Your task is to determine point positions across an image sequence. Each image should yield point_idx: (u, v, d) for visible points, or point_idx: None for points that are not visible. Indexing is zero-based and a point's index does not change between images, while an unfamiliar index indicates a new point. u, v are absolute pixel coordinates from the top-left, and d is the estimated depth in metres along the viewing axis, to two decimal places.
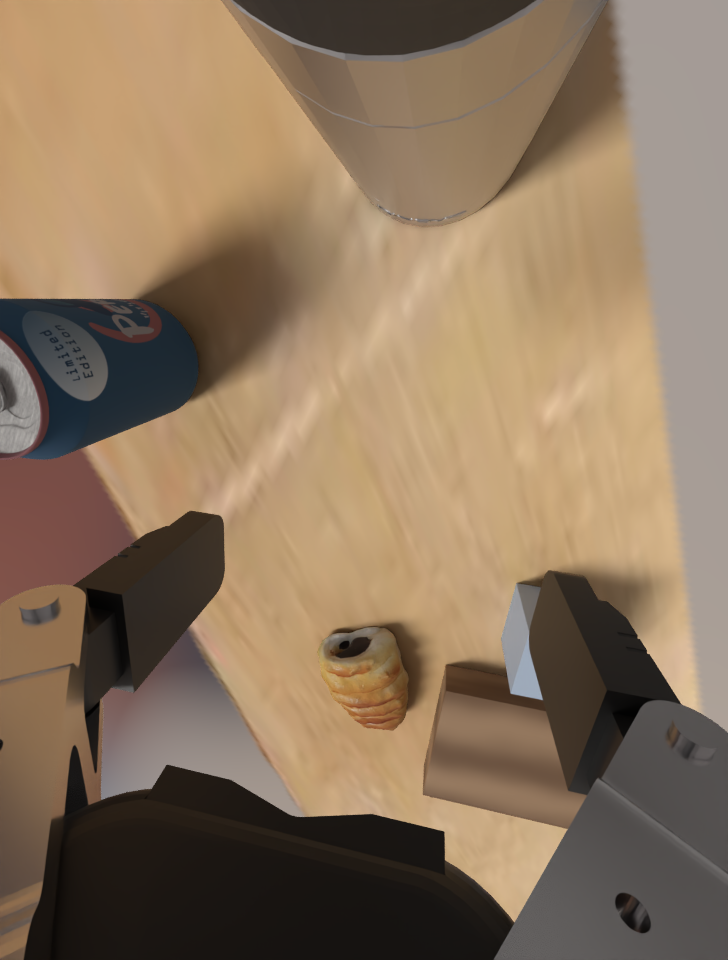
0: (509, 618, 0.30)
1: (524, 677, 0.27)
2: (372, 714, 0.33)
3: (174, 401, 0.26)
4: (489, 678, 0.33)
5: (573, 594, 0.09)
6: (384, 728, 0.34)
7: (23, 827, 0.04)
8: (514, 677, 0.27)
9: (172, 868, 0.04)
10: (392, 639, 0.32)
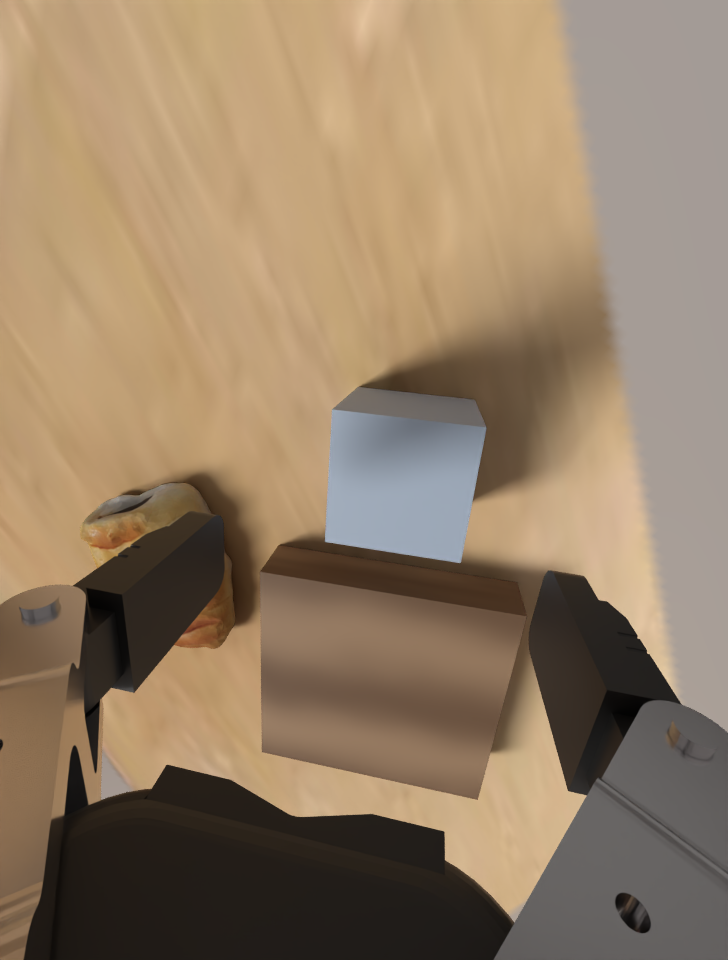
0: None
1: (341, 506, 0.15)
2: None
3: None
4: (338, 560, 0.21)
5: (573, 594, 0.09)
6: (196, 642, 0.22)
7: (22, 828, 0.04)
8: None
9: (172, 868, 0.04)
10: (187, 491, 0.21)
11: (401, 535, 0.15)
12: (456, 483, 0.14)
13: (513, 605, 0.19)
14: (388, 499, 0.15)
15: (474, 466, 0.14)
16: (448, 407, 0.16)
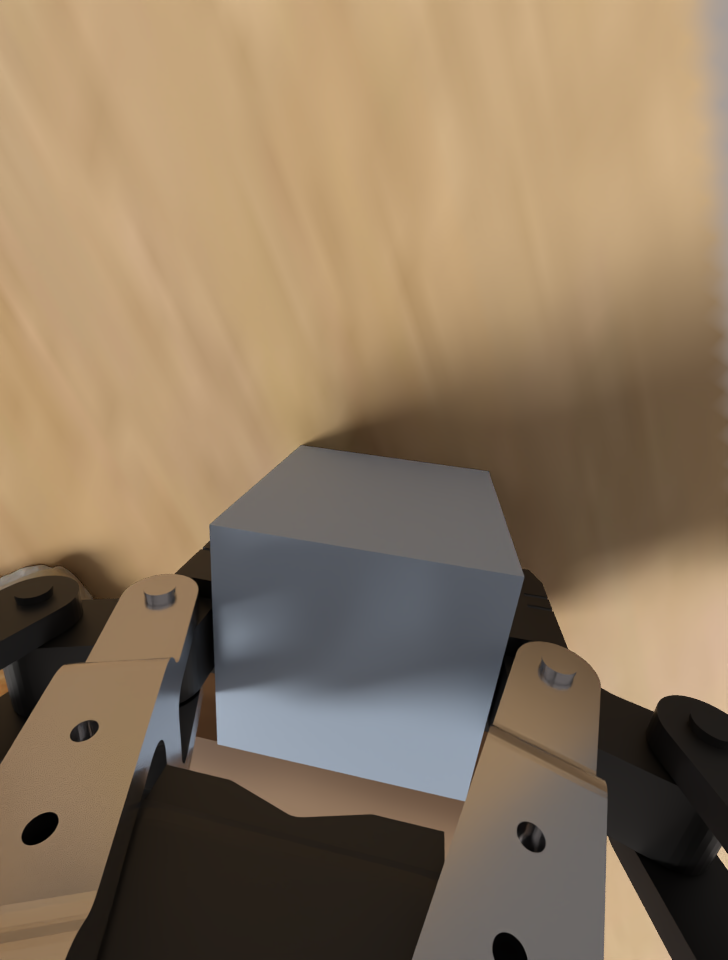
0: None
1: (240, 692, 0.08)
2: None
3: None
4: None
5: None
6: None
7: (95, 823, 0.04)
8: None
9: (172, 868, 0.04)
10: None
11: (354, 747, 0.08)
12: (458, 673, 0.07)
13: None
14: (326, 688, 0.08)
15: (496, 646, 0.07)
16: (445, 500, 0.09)
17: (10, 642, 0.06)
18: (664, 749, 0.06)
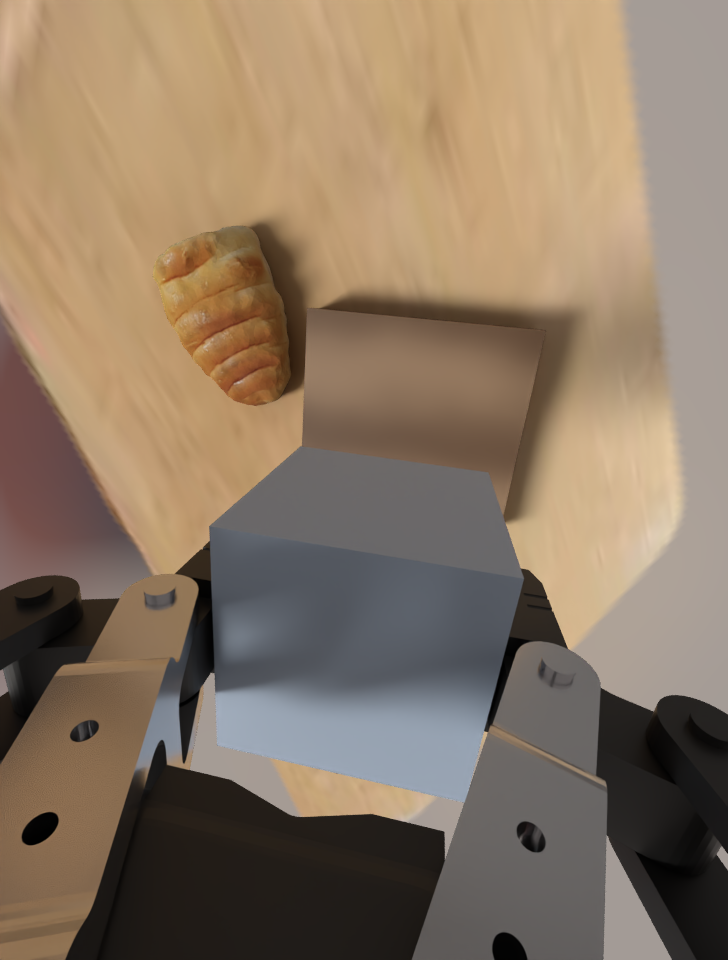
0: None
1: (240, 693, 0.08)
2: (232, 348, 0.23)
3: None
4: None
5: None
6: (257, 385, 0.24)
7: (94, 823, 0.04)
8: None
9: (172, 868, 0.04)
10: (249, 229, 0.23)
11: (353, 748, 0.08)
12: (458, 675, 0.07)
13: (533, 329, 0.22)
14: (326, 689, 0.08)
15: (496, 648, 0.07)
16: (444, 501, 0.09)
17: (10, 642, 0.06)
18: (664, 749, 0.06)
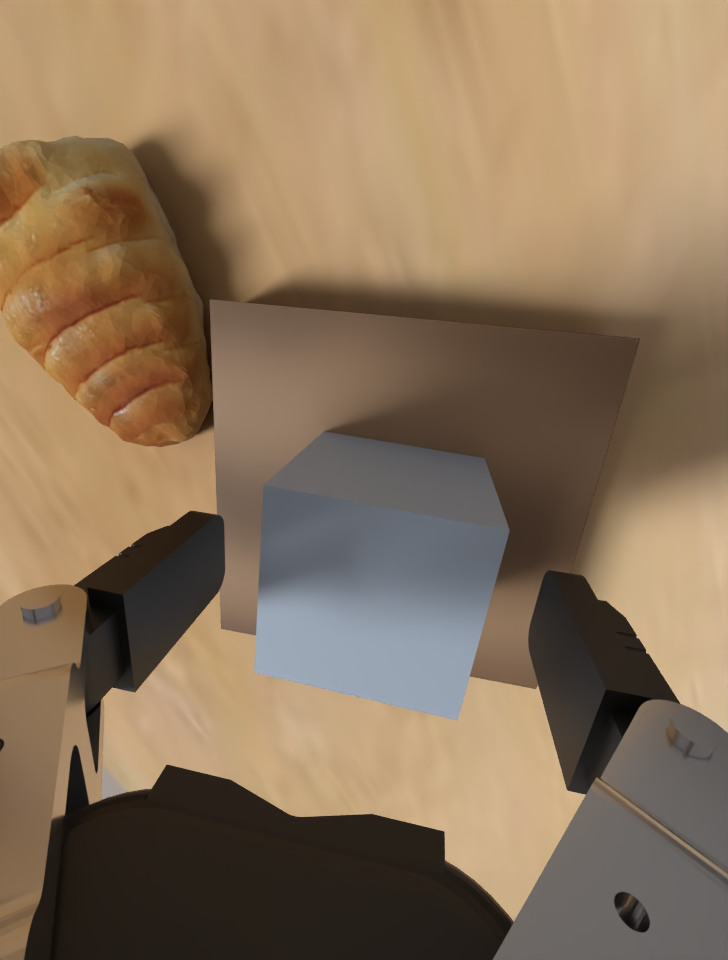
0: None
1: (277, 626, 0.10)
2: (98, 355, 0.13)
3: None
4: None
5: (572, 594, 0.09)
6: (152, 416, 0.14)
7: (23, 827, 0.04)
8: None
9: (172, 868, 0.04)
10: (119, 144, 0.13)
11: (368, 674, 0.10)
12: (456, 609, 0.09)
13: None
14: (349, 622, 0.10)
15: (486, 587, 0.09)
16: (448, 477, 0.11)
17: None
18: None
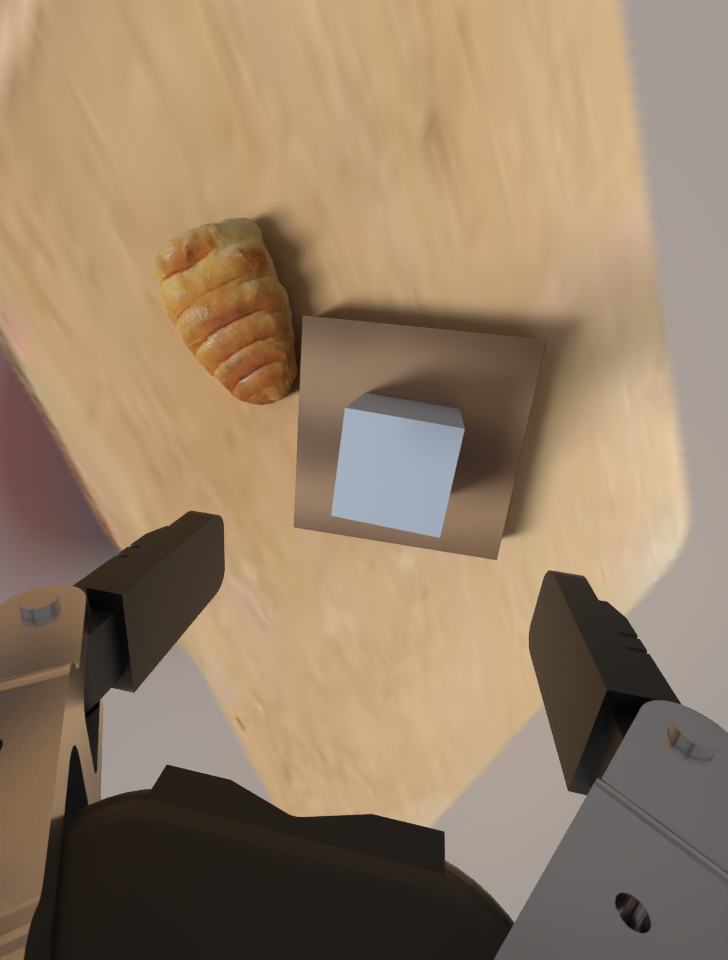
0: None
1: (346, 486, 0.19)
2: (236, 344, 0.22)
3: None
4: None
5: (573, 594, 0.09)
6: (263, 382, 0.24)
7: (22, 827, 0.04)
8: None
9: (172, 868, 0.04)
10: (252, 221, 0.22)
11: (393, 512, 0.19)
12: (439, 472, 0.18)
13: None
14: (384, 482, 0.19)
15: (454, 459, 0.18)
16: (437, 413, 0.20)
17: None
18: None
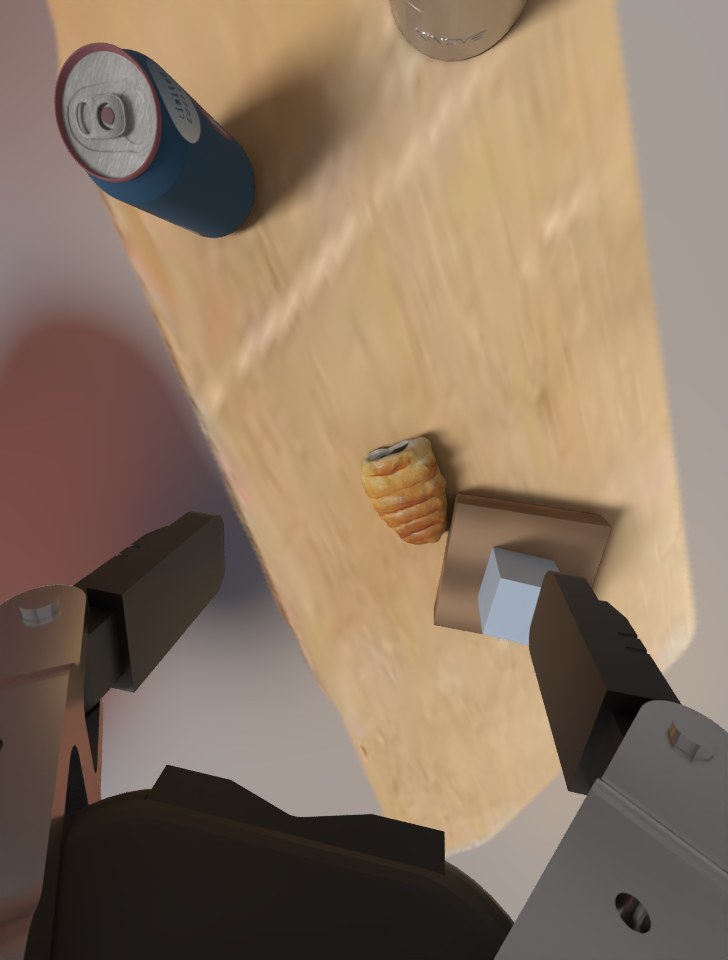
0: (485, 577, 0.36)
1: (494, 619, 0.32)
2: (415, 516, 0.36)
3: (235, 210, 0.30)
4: (495, 500, 0.37)
5: (573, 594, 0.09)
6: (428, 535, 0.37)
7: (22, 828, 0.04)
8: (486, 619, 0.33)
9: (172, 868, 0.04)
10: (427, 440, 0.35)
11: (522, 635, 0.32)
12: None
13: (602, 522, 0.34)
14: (519, 618, 0.32)
15: None
16: (546, 572, 0.33)
17: None
18: None
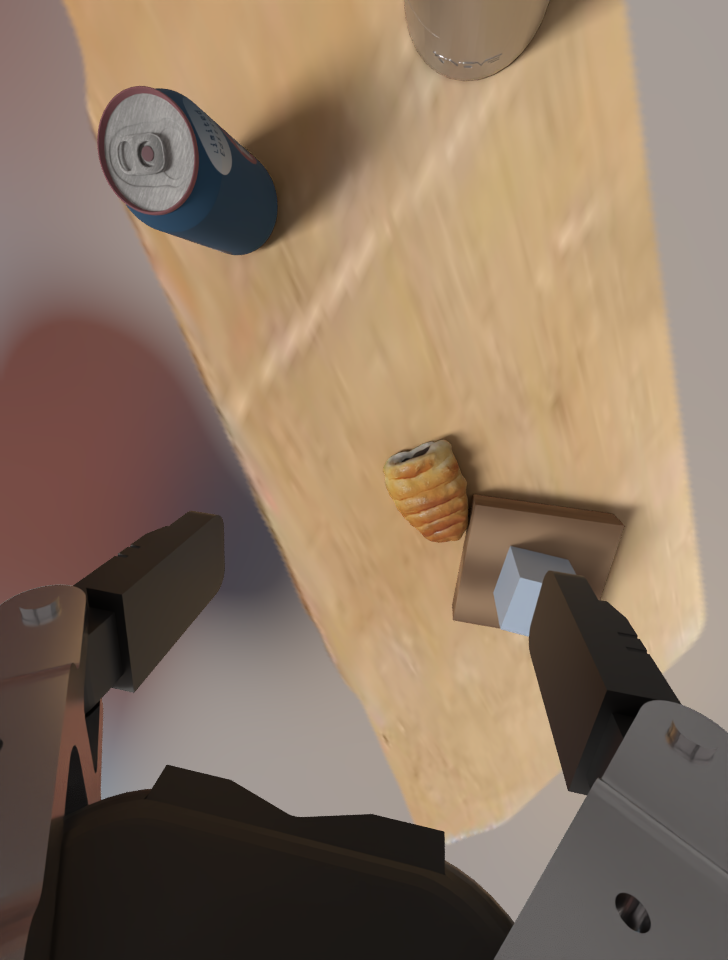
0: (502, 575, 0.38)
1: (512, 615, 0.34)
2: (438, 515, 0.37)
3: (260, 230, 0.32)
4: (511, 501, 0.38)
5: (573, 594, 0.09)
6: (450, 534, 0.38)
7: (23, 826, 0.04)
8: (504, 615, 0.34)
9: (172, 868, 0.04)
10: (448, 443, 0.37)
11: None
12: None
13: (615, 521, 0.36)
14: None
15: None
16: (562, 571, 0.35)
17: None
18: None
